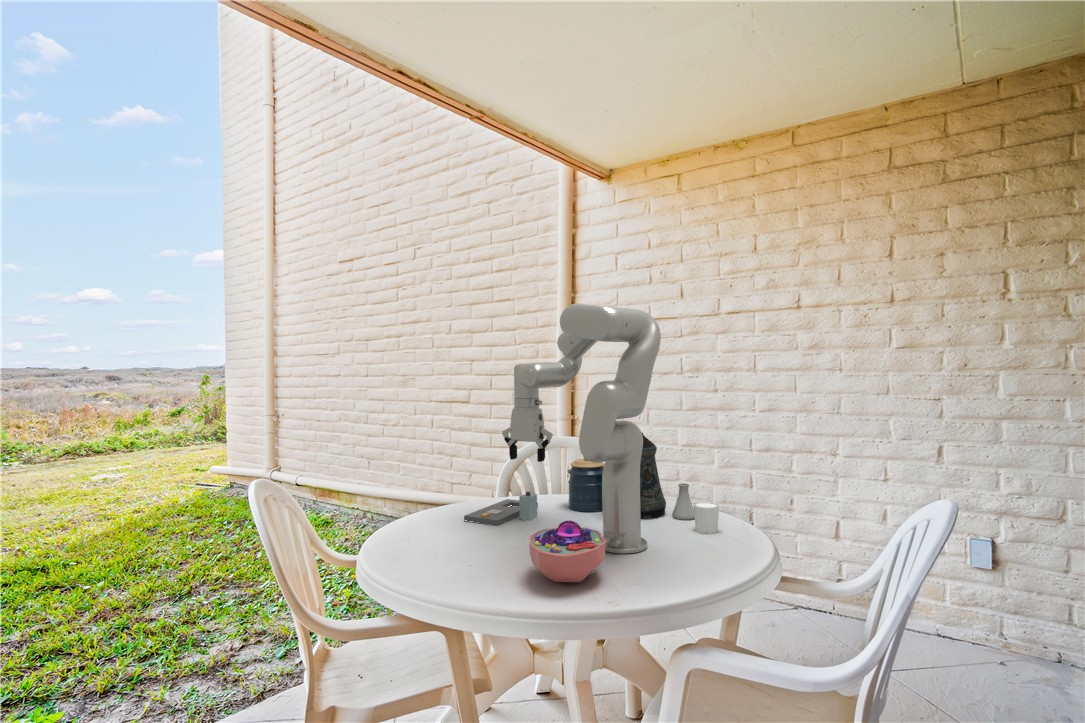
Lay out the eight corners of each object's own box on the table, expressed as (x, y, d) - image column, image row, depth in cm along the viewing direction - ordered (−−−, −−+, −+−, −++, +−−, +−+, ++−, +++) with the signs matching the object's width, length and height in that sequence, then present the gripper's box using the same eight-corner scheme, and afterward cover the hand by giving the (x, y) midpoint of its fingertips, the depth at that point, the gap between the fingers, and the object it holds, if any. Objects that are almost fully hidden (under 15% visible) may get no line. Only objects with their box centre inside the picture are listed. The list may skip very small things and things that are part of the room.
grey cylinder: (694, 533, 150) (693, 507, 150) (693, 526, 156) (692, 501, 156) (720, 534, 148) (720, 508, 148) (718, 527, 155) (718, 502, 155)
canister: (592, 514, 171) (591, 457, 171) (560, 508, 180) (559, 453, 180) (616, 506, 181) (615, 452, 181) (585, 501, 189) (584, 449, 190)
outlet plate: (497, 525, 160) (497, 518, 160) (464, 521, 166) (464, 513, 166) (537, 507, 181) (537, 500, 181) (507, 503, 187) (506, 497, 187)
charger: (530, 520, 165) (529, 494, 165) (519, 519, 167) (519, 493, 167) (537, 517, 169) (536, 491, 169) (527, 516, 171) (526, 490, 171)
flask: (667, 515, 169) (667, 482, 169) (689, 513, 170) (689, 481, 171) (678, 521, 162) (677, 487, 162) (701, 519, 163) (700, 485, 164)
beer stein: (673, 509, 175) (671, 431, 176) (652, 524, 159) (650, 437, 159) (624, 504, 184) (623, 429, 184) (599, 518, 167) (598, 435, 168)
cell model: (515, 591, 112) (514, 535, 112) (543, 559, 131) (542, 511, 131) (597, 599, 107) (596, 541, 107) (614, 565, 126) (613, 515, 127)
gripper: (557, 403, 168) (557, 460, 168) (509, 402, 176) (509, 456, 176) (545, 405, 161) (546, 464, 161) (496, 404, 170) (496, 459, 169)
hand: (527, 460), depth 168 cm, fingers open, 9 cm apart
